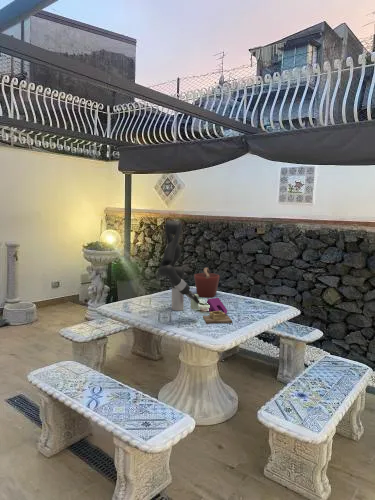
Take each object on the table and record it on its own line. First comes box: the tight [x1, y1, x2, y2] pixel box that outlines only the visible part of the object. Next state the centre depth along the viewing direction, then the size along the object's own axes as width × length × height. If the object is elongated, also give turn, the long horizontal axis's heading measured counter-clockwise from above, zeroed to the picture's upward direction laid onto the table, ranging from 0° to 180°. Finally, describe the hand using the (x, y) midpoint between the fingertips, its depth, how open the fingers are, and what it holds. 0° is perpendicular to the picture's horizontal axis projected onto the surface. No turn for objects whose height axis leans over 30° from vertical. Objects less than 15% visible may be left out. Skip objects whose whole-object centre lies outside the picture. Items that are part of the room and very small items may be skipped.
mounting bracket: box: [206, 297, 228, 315], centre depth 280 cm, size 10×8×18 cm
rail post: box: [190, 293, 200, 310], centre depth 259 cm, size 4×4×10 cm
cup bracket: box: [202, 310, 233, 325], centre depth 260 cm, size 14×18×6 cm
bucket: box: [193, 267, 221, 299], centre depth 332 cm, size 24×22×25 cm
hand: (196, 301), depth 260 cm, fingers closed on rail post, 4 cm apart
